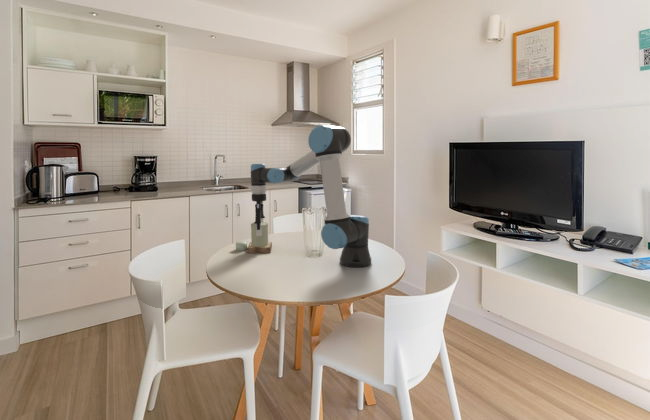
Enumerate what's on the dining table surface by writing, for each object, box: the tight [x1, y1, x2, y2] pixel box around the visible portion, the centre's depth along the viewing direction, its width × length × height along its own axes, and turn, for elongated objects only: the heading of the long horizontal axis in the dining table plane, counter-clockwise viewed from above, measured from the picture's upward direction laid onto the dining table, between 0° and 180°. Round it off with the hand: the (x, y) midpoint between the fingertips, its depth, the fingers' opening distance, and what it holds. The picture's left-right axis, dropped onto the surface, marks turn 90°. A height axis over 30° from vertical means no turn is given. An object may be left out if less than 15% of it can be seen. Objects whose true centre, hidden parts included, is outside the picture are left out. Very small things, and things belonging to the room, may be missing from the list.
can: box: [250, 221, 269, 247], centre depth 195 cm, size 9×9×12 cm
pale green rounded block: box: [235, 240, 248, 252], centre depth 196 cm, size 6×6×4 cm
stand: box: [246, 241, 273, 254], centre depth 196 cm, size 12×12×3 cm
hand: (260, 232), depth 195 cm, fingers open, 13 cm apart
